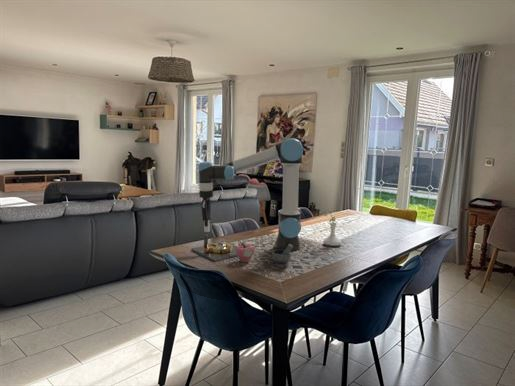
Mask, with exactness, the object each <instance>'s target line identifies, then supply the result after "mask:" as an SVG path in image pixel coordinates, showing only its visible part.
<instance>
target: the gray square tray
mask: <svg viewBox="0 0 515 386" xmlns="http://www.w3.org/2000/svg"><path fill="white" fill-rule="evenodd" d="M215 243H216V244H215V247H216V246H220V247H219V248H226V244H225V243H222V242H215ZM226 243H228V244H231V245H233V250H232V251H231V252H226V253H215V252H211V251H209V245H210V244H208V247H206V252H204V245H202V246H201V245H200V246H197V247H192V248H191V249H190V250H191V251H192V252H194V253H196V254H198V255H200V256H202V257H204V258H206V259H209V260H210V261H213V262H219V261H223V260H227V259H233V258H238V256H237V253H236V249H237V247H239V246H237V245H235V244H233V243H231V242H227V241H226Z"/></svg>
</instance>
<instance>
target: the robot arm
mask: <svg viewBox="0 0 515 386" xmlns="http://www.w3.org/2000/svg"><path fill="white" fill-rule="evenodd" d="M303 154H304V146H303V144H302V142H301V141H300V140H299V139H297V138H293V137H291V138H287V139H286V138H285V139H284V140H283V141H280V142H278V143H277V144H274V145H273V147H269V148H268V149H267V148H266V149H264V150H262V151H259V152H256V153H253V154H250V155H248V156H247V155H246V156H244V157H242V158H239V159H236V160H233V161H231V162H227V163H223V164H222V165H214V164H213V162H211V161H203V162H199V164H198V184H197V185H198V186H199V187H198V188H199V191H198V195H199V196H198V197H199V198H202V201H201V205H200V207H201V213H202V214H201V215H202V221H203V229H204V230H203V231H204V232H205V233H209V232H210V230H211V229H210V220H211V219H212V218H211V211H212V206H211V205H212V201H211V198H213V197H214V183H213V181H214V180H227V181H230V180H234V179H235V175H237V174H240V173H243V172H245V171H249V170H252V169H254V168H258V167H260V166H263V165H266V164H269V163H272V162H275V161H279V162H280V165H282V167H283V168H282V207H281V208H282V209H279V211H278V228H277V229H278V233H277V237H276V241H275V243H274V248H275V249H276V250H285V249H286V248H287V247H288V244H291V245H292V246H293V248H292V249H291V251H290V252H292V251H297V250H300V249H301V243H300V238H299V234H300V233H301V230H302V224H301V216H302V215H301V212H300V210H299V185H300V184H299V183H300V182H299V180H300V173H299V172H300V166H301V165H302V164H303Z"/></svg>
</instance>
